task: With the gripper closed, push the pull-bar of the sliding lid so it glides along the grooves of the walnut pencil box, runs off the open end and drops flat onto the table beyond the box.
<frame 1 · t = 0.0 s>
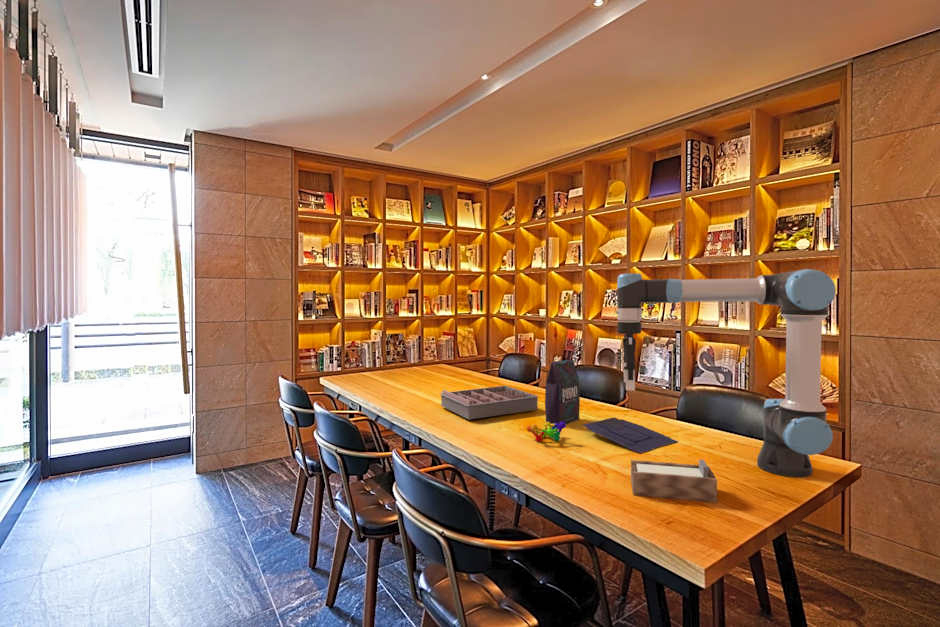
hand: (629, 386, 156), 28 cm above the table, fingers open, 13 cm apart
decorative model: (546, 440, 191), on the table
box: (671, 491, 141), on the table
organizer tray: (488, 410, 241), on the table
black coffee bag: (562, 422, 217), on the table
lid: (671, 473, 140), point 5 cm above the table, touching box
dark blue flat slab: (627, 439, 192), on the table
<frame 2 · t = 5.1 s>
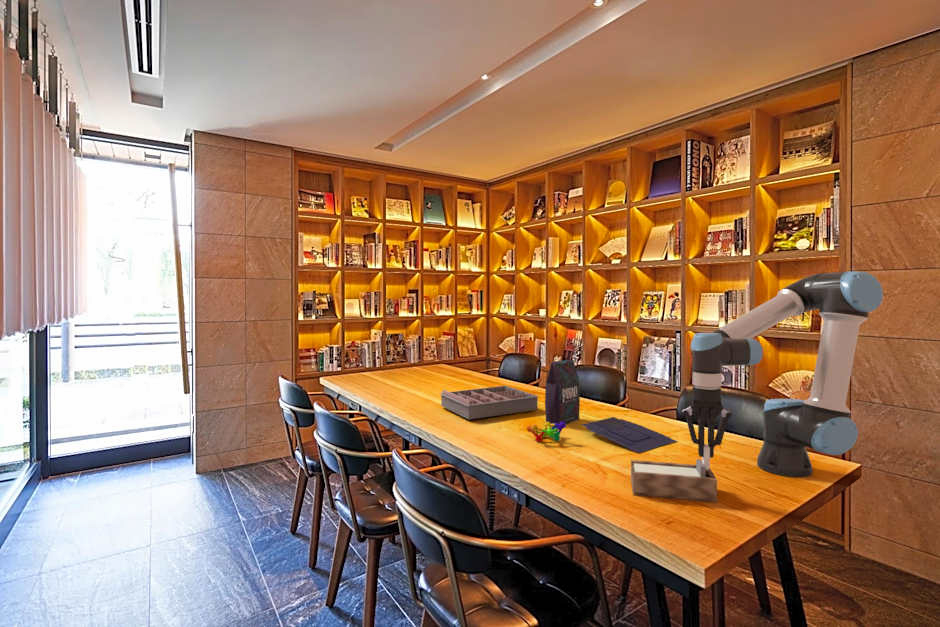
hand: (705, 467, 138), 8 cm above the table, fingers closed
lid: (668, 473, 141), point 5 cm above the table, touching gripper
everything else where it was.
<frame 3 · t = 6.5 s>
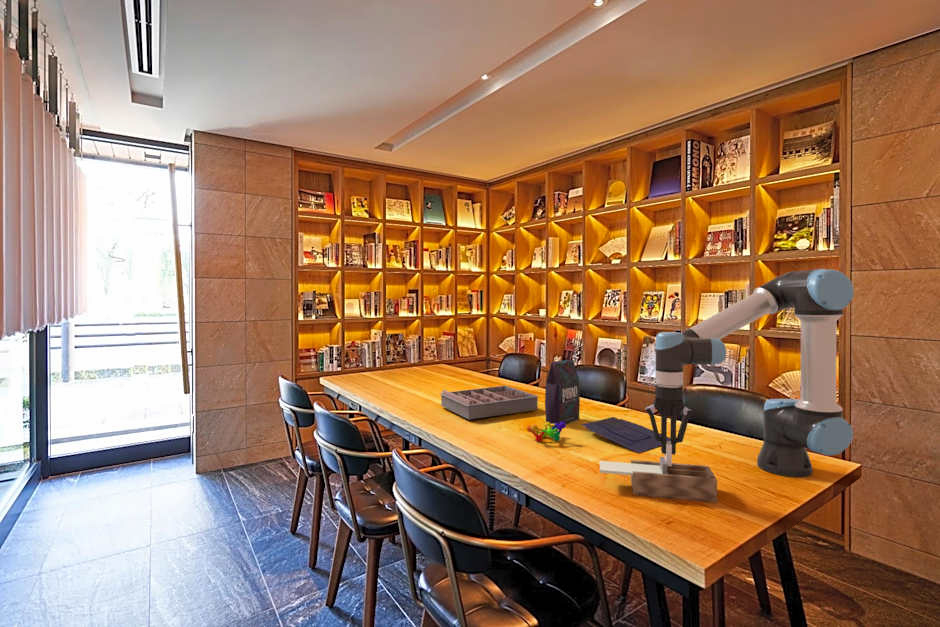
hand: (668, 464, 140), 8 cm above the table, fingers closed
lid: (632, 470, 143), point 5 cm above the table
everything else where it was.
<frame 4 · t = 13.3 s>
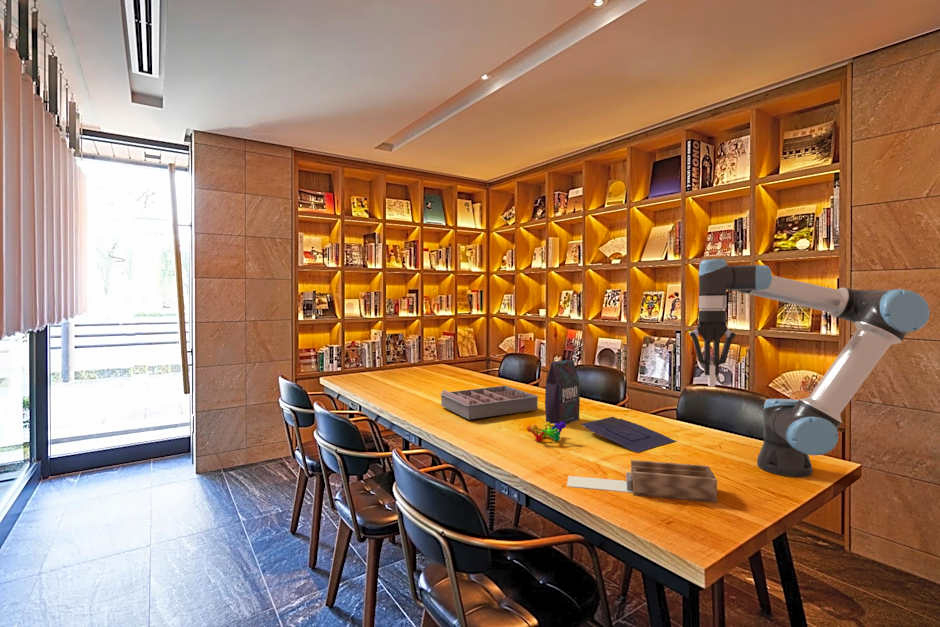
hand: (711, 385, 148), 29 cm above the table, fingers closed
lid: (599, 486, 146), on the table
everything else where it was.
at the end: lid inside the target area on the table beside the box (5.0 cm from its centre), on the table; lid on the table; lid touching table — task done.
